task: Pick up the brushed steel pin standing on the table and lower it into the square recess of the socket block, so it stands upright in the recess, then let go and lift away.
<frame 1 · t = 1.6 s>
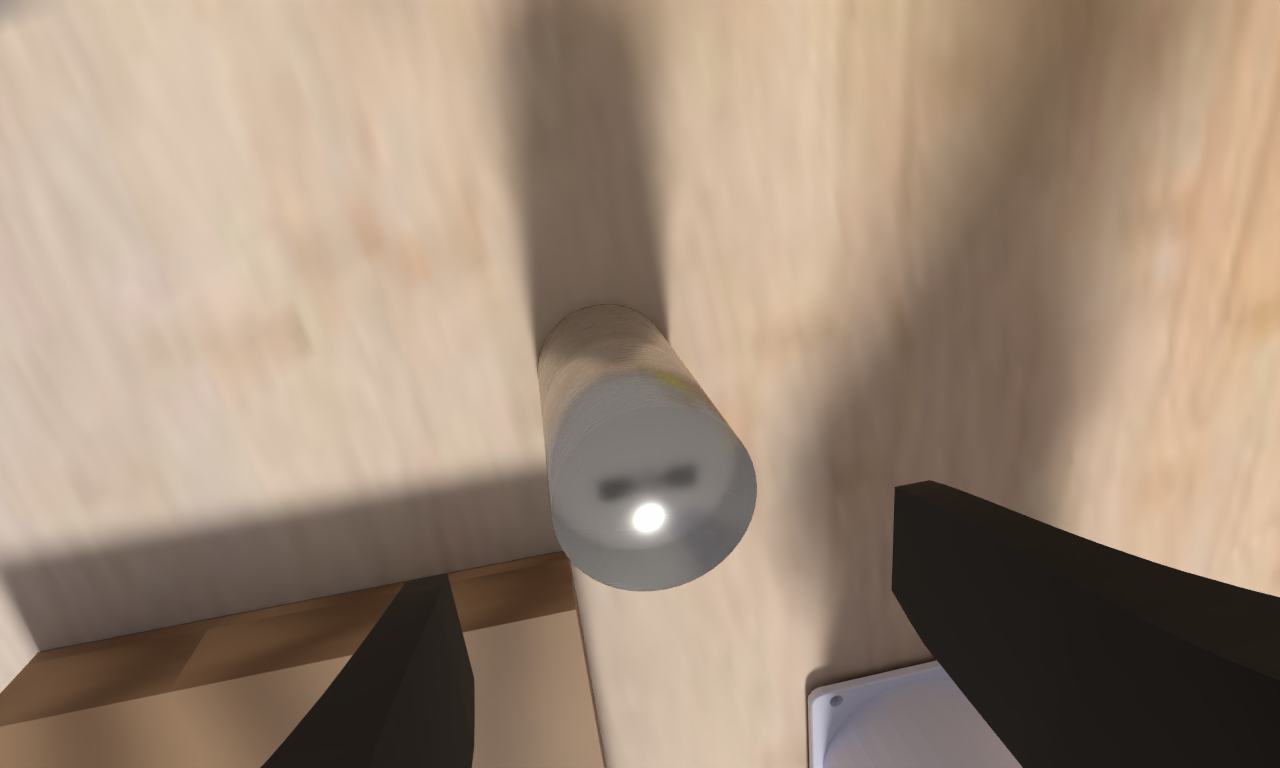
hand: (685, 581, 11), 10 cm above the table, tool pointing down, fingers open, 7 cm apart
steel pin: (605, 369, 20), on the table
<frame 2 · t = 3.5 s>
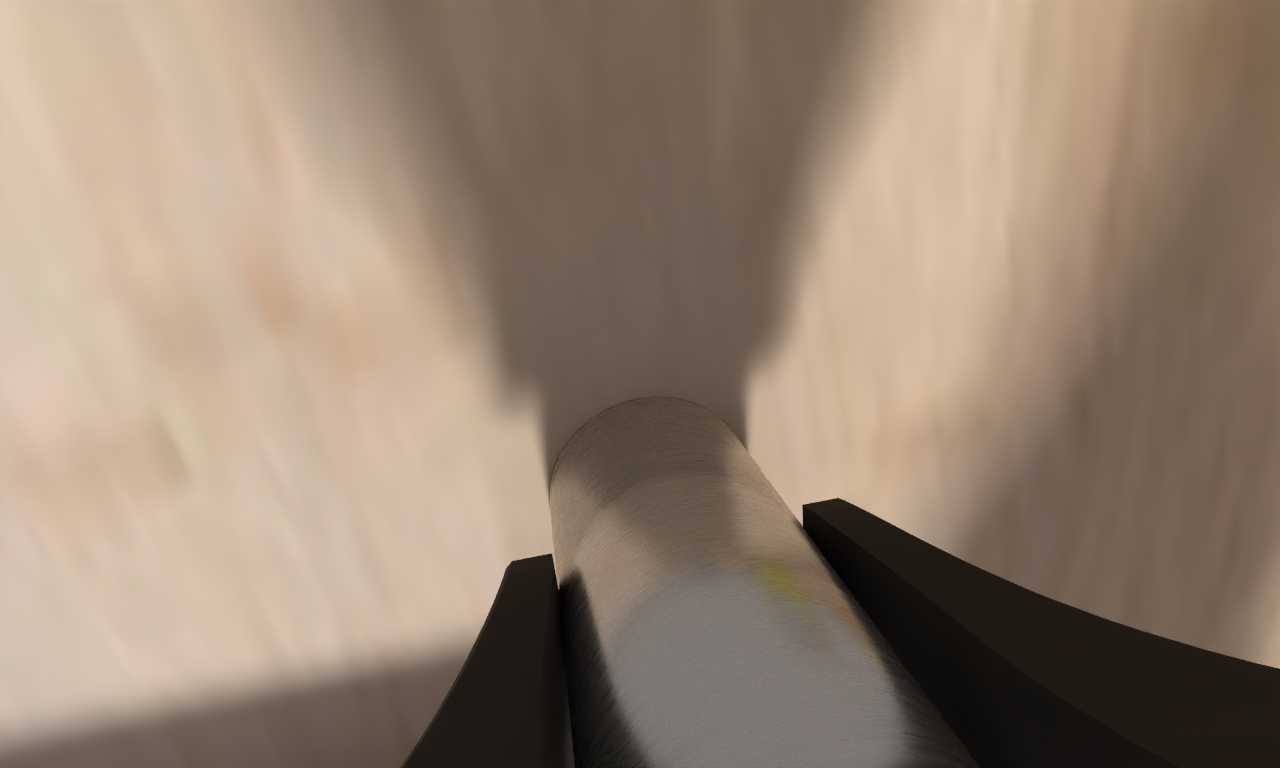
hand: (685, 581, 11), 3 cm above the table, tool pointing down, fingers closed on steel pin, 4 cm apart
steel pin: (651, 491, 13), on the table, touching gripper
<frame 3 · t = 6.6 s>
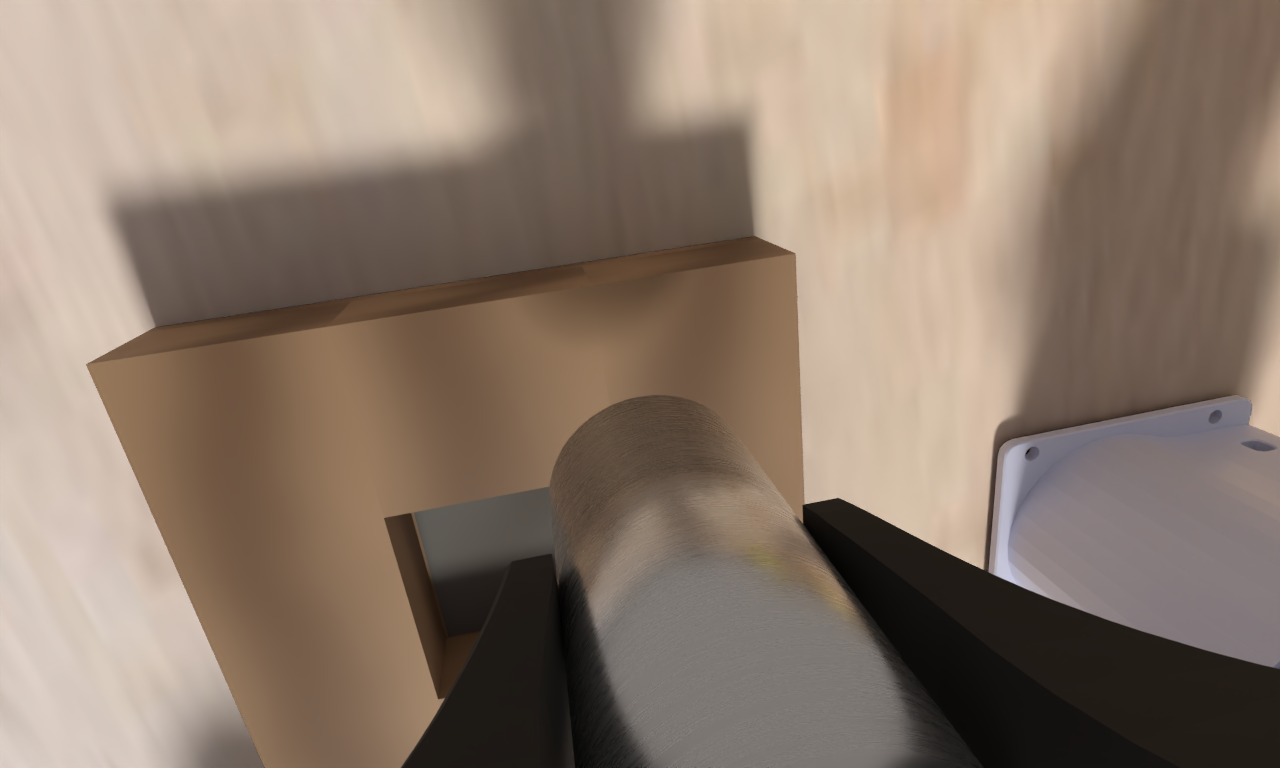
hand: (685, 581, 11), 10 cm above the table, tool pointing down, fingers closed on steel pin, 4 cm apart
socket block: (523, 531, 21), on the table
steel pin: (651, 489, 13), point 7 cm above the table, touching gripper
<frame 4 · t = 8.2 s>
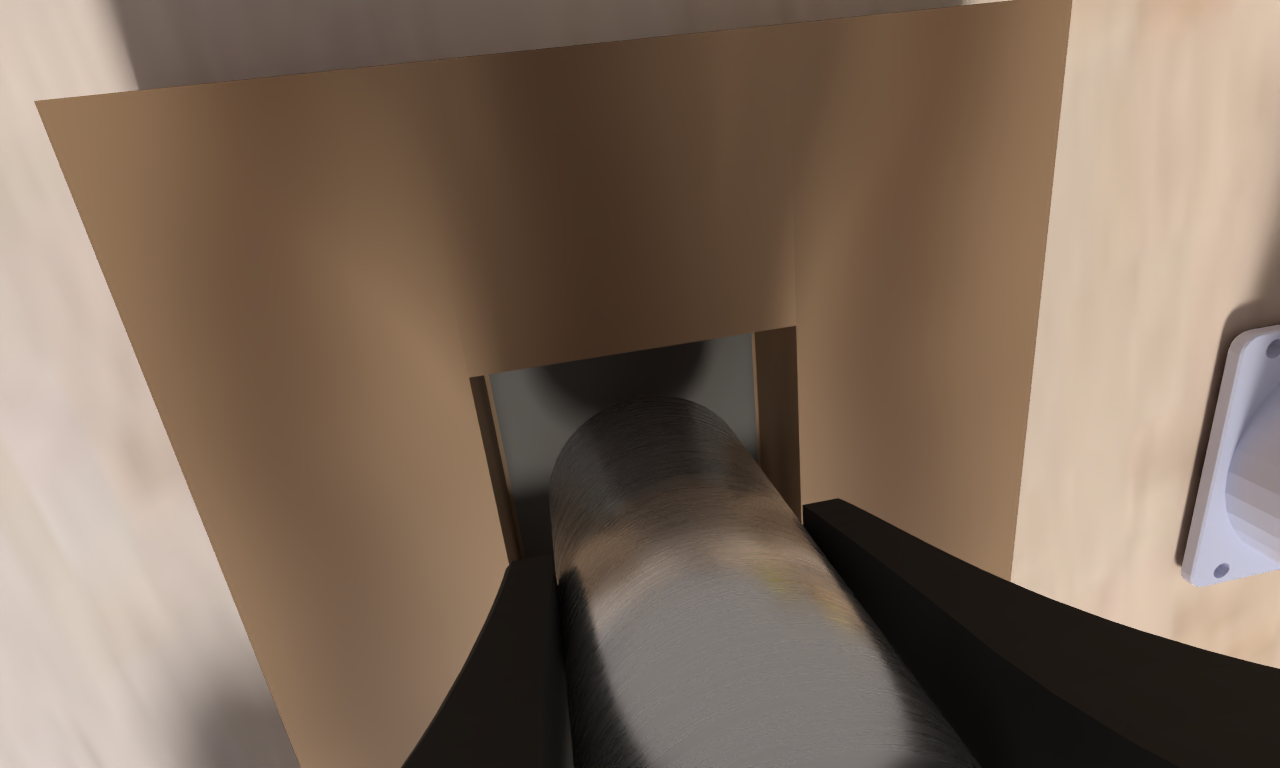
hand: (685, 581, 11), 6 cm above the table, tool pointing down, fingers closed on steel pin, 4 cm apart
socket block: (630, 433, 16), on the table
steel pin: (650, 490, 13), point 3 cm above the table, touching gripper
when the fingers open (4 cm above the table, at t = 9.8 s): steel pin stays where it is, resting on socket block.
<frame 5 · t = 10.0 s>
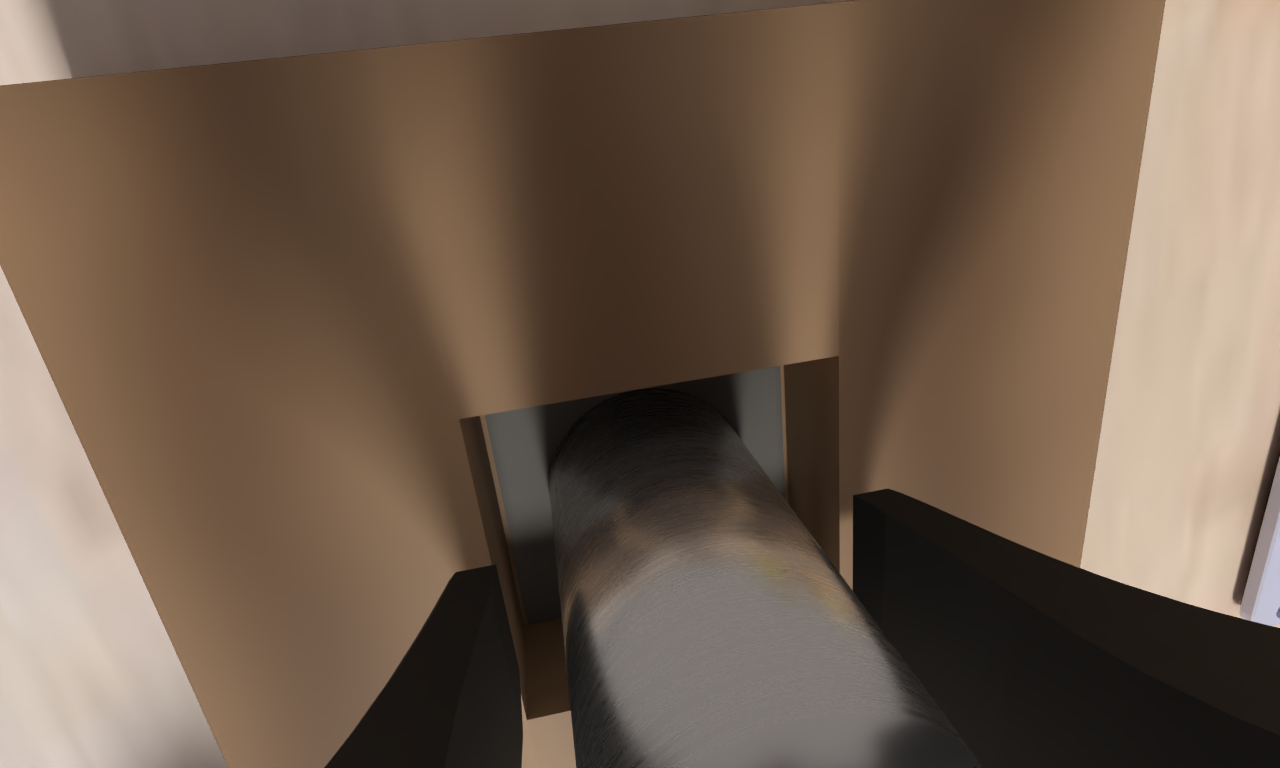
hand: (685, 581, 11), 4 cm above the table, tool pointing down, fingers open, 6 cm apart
socket block: (642, 469, 14), on the table
steel pin: (648, 480, 14), point 1 cm above the table, touching socket block
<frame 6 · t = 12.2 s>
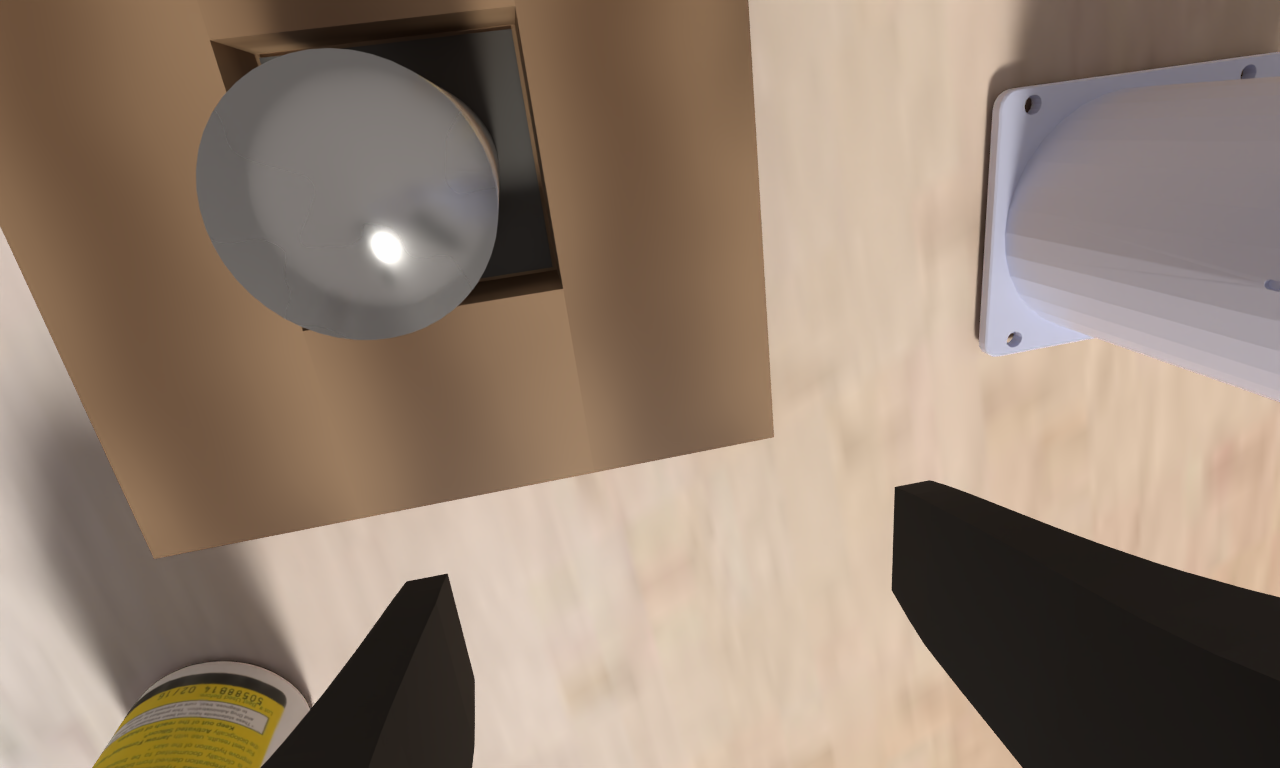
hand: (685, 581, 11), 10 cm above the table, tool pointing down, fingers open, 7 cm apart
socket block: (420, 170, 18), on the table
supplement bottle: (230, 716, 22), on the table
steel pin: (418, 169, 17), point 1 cm above the table, touching socket block
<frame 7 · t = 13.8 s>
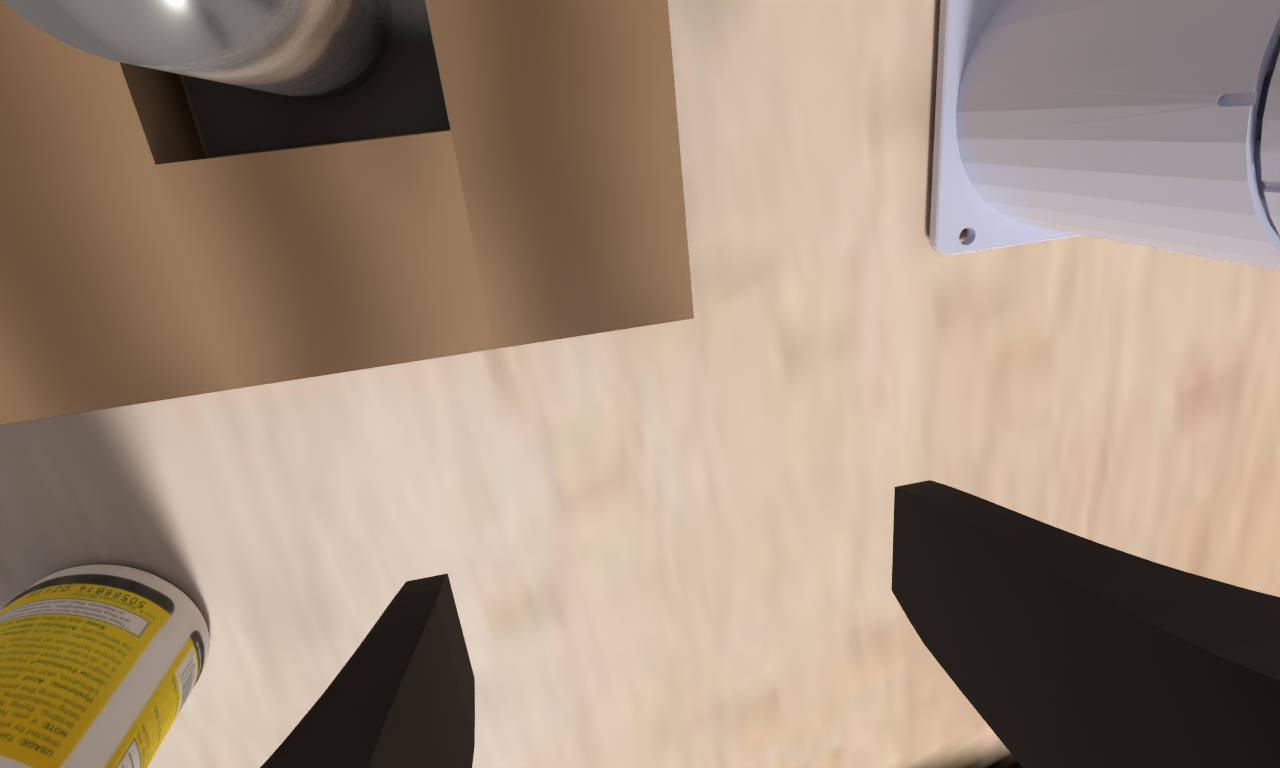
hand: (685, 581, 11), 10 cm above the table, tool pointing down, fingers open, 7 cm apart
socket block: (306, 10, 16), on the table
supplement bottle: (120, 629, 21), on the table
steel pin: (299, 4, 15), point 1 cm above the table, touching socket block
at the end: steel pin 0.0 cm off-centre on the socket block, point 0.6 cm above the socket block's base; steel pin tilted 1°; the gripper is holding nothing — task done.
